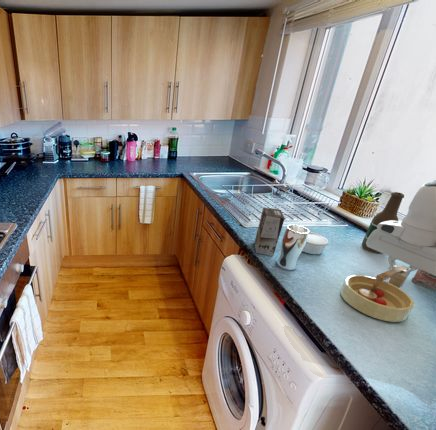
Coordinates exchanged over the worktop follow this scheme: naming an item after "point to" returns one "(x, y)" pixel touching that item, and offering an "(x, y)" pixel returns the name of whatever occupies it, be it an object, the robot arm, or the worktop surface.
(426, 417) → the worktop surface
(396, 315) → the bowl
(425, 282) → the red printed box
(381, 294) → the tomato
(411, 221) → the robot arm
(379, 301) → the tomato
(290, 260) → the beer glass
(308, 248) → the ramekin
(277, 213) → the coffee box
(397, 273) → the brass bent handle
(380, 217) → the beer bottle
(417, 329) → the worktop surface
